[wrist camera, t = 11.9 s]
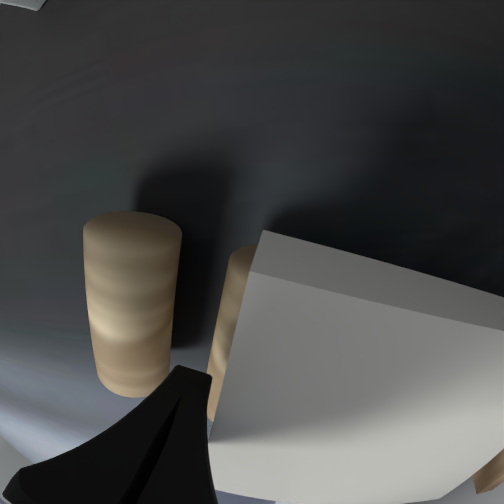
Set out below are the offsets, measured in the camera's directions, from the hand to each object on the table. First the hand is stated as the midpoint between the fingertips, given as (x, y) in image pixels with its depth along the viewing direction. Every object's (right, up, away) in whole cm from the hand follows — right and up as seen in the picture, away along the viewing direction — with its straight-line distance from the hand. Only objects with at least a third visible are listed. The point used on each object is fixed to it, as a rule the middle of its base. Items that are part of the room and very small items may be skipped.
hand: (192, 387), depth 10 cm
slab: (+8, -2, 0) cm, 8 cm away
